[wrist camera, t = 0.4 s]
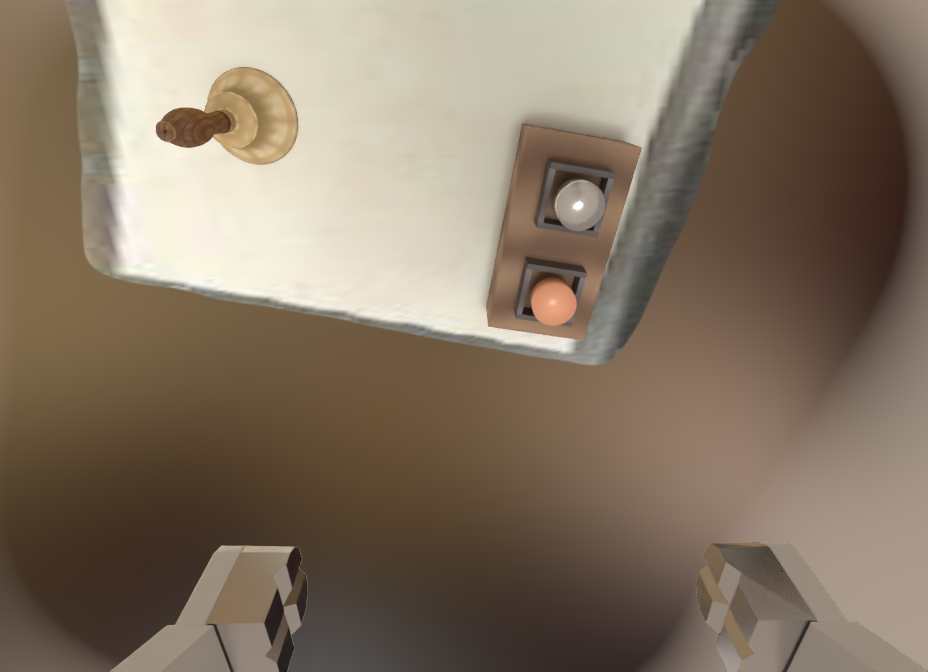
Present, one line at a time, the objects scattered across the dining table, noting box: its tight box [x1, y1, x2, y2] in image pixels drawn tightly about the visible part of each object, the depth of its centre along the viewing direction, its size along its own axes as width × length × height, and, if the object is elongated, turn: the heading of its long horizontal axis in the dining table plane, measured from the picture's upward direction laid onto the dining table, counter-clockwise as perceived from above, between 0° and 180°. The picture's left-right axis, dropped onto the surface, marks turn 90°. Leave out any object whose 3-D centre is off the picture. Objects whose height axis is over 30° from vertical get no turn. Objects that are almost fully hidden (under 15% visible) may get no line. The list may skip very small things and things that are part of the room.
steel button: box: [553, 178, 605, 231], centre depth 42 cm, size 4×4×2 cm
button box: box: [486, 124, 641, 340], centre depth 48 cm, size 19×10×7 cm, turn 171°
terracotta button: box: [530, 277, 577, 326], centre depth 46 cm, size 4×4×2 cm
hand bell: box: [156, 67, 298, 164], centre depth 39 cm, size 8×8×16 cm
